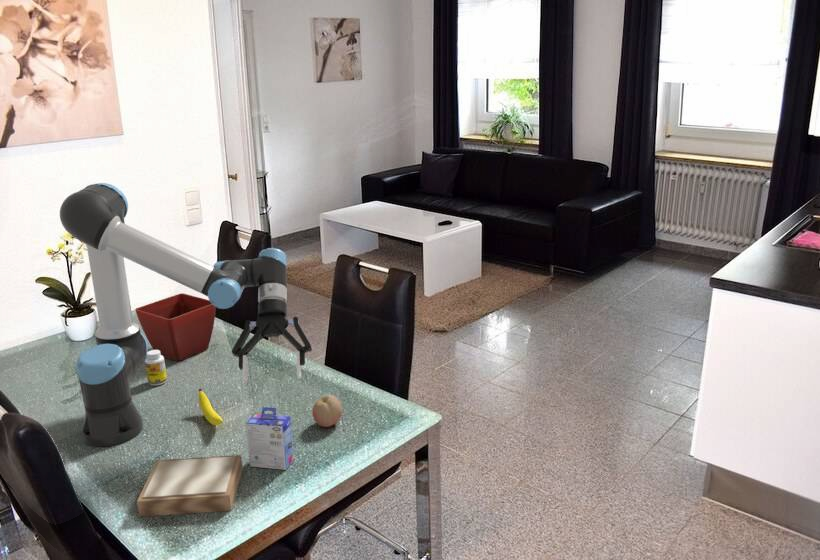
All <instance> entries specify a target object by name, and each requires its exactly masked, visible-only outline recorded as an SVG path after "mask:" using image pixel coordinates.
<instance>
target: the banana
mask: <svg viewBox="0 0 820 560" xmlns="http://www.w3.org/2000/svg"><path fill="white" fill-rule="evenodd" d="M198 391H199V394H198V404H199V407H200V410H201V412H202V414H203V415H204V417H205V420H207V422H208V423H210V425H212V426H219V427H220V426H221V425H223V422H224V419H222V417H221V416H220V415H219V414H218V412H216V411H215V410H214V409H213V407H212V404H211V402H210V400H209V398H208V397H207V394H205V392H204V391H202V388H199V389H198Z"/></svg>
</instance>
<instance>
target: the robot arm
mask: <svg viewBox="0 0 820 560" xmlns="http://www.w3.org/2000/svg"><path fill="white" fill-rule="evenodd" d="M128 210H129V203H128V200H127V197H126V195H125V194H124V192H123V191H122V190H120V189H119V188H118V187H116V186H115V185H113V184H110V183H107V182H105V183H104V182H99V183H94V184H93V183H92V184H89V185H87V186H85V187H84V188H82V189H80V190H78V191H76V192H74V193H70V195H69V196H67V197H66V198H65V199H64V200H63V202H62V203H61V206H60V209H59V219H60V222H61V224H62V227H63V228H64V230H65V231H66V232H67V233H68V234H69V235H70V236H72V238H75V239H76V240H77V241H79V242H81V243H82V244H85V245H86V250H87V255H88V263H89V267H90V268H89V269H90V274H91V280H92V286H93V292H94V293H93V294H94V299H95V300H94V301H95V304H96V311H97V318H98V322H99V323H98V324H99V327H98V328H97V329H96V330H95V331H94V335H95V336H94V337H95V342H96V345H93V346H91V348H87V349H85V350H84V351H82V352H81V353H80V354H79V355H78V357H77V359H76V362H75V363H76V364H75V365H76V375H77V379H78V382H79V383H78V384H79V388H80V392H81V396H82V401H83V407H84V417H83V423H82V429H81V434H82V439H83V442H84V443H86V444H87V445H89V446H91V447H110V446H115V445H119V444H122V443H124V442H127V441H129V440H132V439H133V438H135V437H136V436H137V435H139V434H140V433H141V432H142V430H143V429H144V422H143V416H142V415H141V413H140V412H139V410H138V409H137V407H136V404H135V403H134V402H133V399H132V398H133V397H132V393H131V389H130V380H131V379H132V378H133V376H134V375H135V373H136V372H137V370H138V369H139V368H140V367H141V366H142V365H143V363H145V359H146V358H147V352H148V351H149V346H148V345H149V344H148V339H147V337H146V335H145V334H143V333H142V332H141V327H140V325H139V324H137V323H136V322H134V319H133V313H132V312H133V311H132V305H131V300H130V292H129V286H128V279H127V270H126V265H125V260H124V258H125V259H127V260H129V261H131V262H133V263H136V264H138V265H140V266H142V267H144V268H146V269H148V270H151V271H153V272H155V273H157V274H159V275H161V276H163V277H165V278H168V279H170V280H172V281H174V282H176V283H178V284H180V285H183V286H185V287H187V288H189V289H192V290H193V291H195V292H197V293H200V294H202V295H204V296H206V297H208V300H209V301H210V302H211V303H212V304H213V305H214V306H215V307H216V308H217V309H221V310H225V309H226V310H227V309H229V308H230V309H231V308H232V307H234V305H235V304H236V303H237V302H238V301H239V300H240V299H241V296H242V293H243V292H244V290H245V288H248V287H249V288H250V287H257V286H258V290H257V291H258V293H257V295H258V296H257V302H258V304H257V320H256V321H251V320H250V319H246V320H245V321H244V327H243V329H242V331H241V333H240V335H239V337H238V339H237V341H236V342H235V344H234V346H233V348H232V350H231V353H232V355H233V356H234V357H236V358H237V357H238V367H239V370H240V371H241V370H242V372H241V373H242V374H241V375H242V378H241V379H242V381H243V383H244V384H246V383H247V384H248V377H249V376H248V375H249V374H248V372H249V371H248V370H249V369H248V368H249V366H248V365H249V357H248V354H250V352H252V350H253V349H254V347H256V345H257V344H258V343H259V342H260V341H261V340H263V339H264V337H266V338H271V337H275V338H278V337H280V336H282V337H283V338H285V339H286V340H287V341H288V342H289V343H290V345H292V346H293V347H294V348H295V349H296V350H297V351H296V352H295V353H296V378H297V380H301V379H302V366H305V364H306V353H310V352H312V350H313V349H312V345H311V343H310V342H309V339H308V338H307V336H306V335H305V333H304V331H303V329H302V328H301V327H302V326H300V322H299V318H298V317H297V316H293V318H288V314H287V313H288V312H287V311H288V309H287V308H288V307H287V306H288V304H287V301H288V299H287V296H288V295H287V294H288V290H287V288H288V287H287V285H288V284H287V282H288V281H287V280H288V279H287V276H288V272H287V271H288V266H287V265H288V264H287V255H286V253H285V252H284V251H283V250H281V249H279V248H277V247H276V248H275V247H268V248H266V249H262V250H261V251H260V252H259V254H258V257H257V258H251V259H233V260H229V259H227V260H222V261H217V262H215V263H213V265H211V264H209V263H207V262H205V261H203V260H201V259H199V258H196V257H195V256H193V255H190V254H189V253H187V252H184V251H182V250H180V249H179V248H176V247H174V246H172V245H169V244H168V243H166V242H163V241H162V240H159V239H157V238H155V237H153V236H151V235H149V234H146V233H145V232H143V231H140V230H138V229H136V228H134V227H132V226H130V225H128V224H126V223H125V218H126V217H127V214H128ZM289 325H291V328H294V329H295V331H296V334H297V335H298V337H299V338H300V340H301V342H302V343H303V345H302V344H301V343H300V342H299V341H298V340H297V339H295V337H294V336H293V335H292V334H291V333H290V332H289V331H288V330H287V328H288V326H289ZM255 327H256V328H257V330H256V331H255V333H254V334H253V336H252V337H251V338H250V339H249V340H248V337H249V336H250V334H251V331H253V330H254V328H255ZM247 340H248V341H247ZM246 342H247V343H246Z"/></svg>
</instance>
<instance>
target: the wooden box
mask: <svg viewBox="0 0 820 560" xmlns="http://www.w3.org/2000/svg"><path fill="white" fill-rule="evenodd" d="M243 468H244V467H243V461H242V454H236V455H220V456H219V455H217V456H206V457H205V456H204V457H187V458H173V459H157V460H156V461H155V464H154V465H153V467H152V470H151V471H150V474H149V476H148V477H147V479H146V482H145V483H144V486H143V488H142V491H141V492H140V494H139V496H138V498H137V501H136V504H137V510H138V516H139V517H140V516H144V517H156V516H157V515H159V516H169V515H170V514H171V515H172V514H173V515H184V514H185V515H187V514H186V513H188V514H200V513H215V512H217V513H218V512H228V511H229V512H230V511H232V510H233V505H234V502H235V499H236V495H237V491H238V488H239V485H240V481H241V477H242V473H243V470H244V469H243ZM151 515H152V516H151ZM155 515H156V516H155ZM171 515H170V516H171Z"/></svg>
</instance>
